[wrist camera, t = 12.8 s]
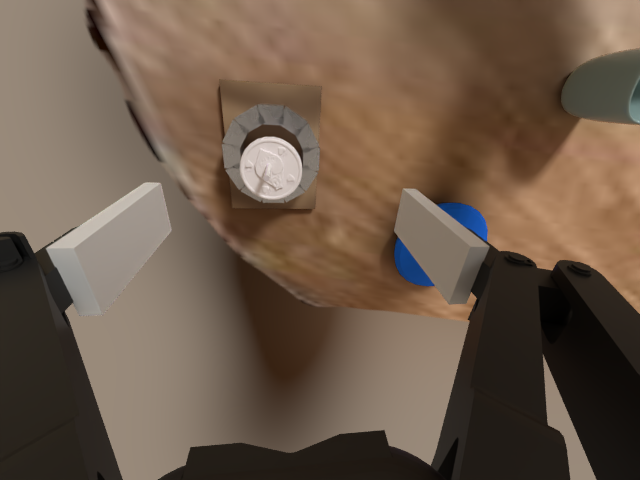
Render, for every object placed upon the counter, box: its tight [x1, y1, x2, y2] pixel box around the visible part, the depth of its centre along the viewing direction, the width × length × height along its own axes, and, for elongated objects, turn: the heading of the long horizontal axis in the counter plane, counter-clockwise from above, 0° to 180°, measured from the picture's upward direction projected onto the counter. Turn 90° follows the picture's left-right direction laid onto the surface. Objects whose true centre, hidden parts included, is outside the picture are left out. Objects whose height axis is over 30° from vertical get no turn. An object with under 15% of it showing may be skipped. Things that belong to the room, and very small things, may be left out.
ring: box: [222, 103, 320, 203], centre depth 35 cm, size 12×12×4 cm
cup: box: [561, 48, 640, 125], centre depth 34 cm, size 8×8×10 cm
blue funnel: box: [394, 203, 488, 286], centre depth 44 cm, size 16×16×7 cm
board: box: [219, 79, 322, 209], centre depth 37 cm, size 16×12×1 cm
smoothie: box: [240, 137, 302, 200], centre depth 30 cm, size 6×6×14 cm
